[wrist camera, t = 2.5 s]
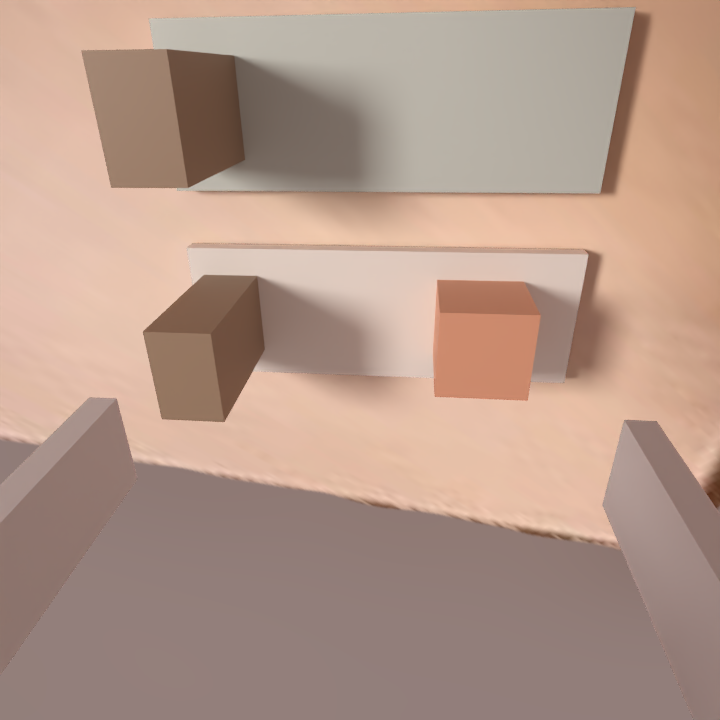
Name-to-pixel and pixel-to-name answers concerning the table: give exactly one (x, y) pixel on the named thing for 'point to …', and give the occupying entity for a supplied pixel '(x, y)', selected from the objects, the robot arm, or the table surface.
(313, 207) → the table surface
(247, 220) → the table surface
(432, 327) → the cube strip
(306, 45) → the strip with upright block
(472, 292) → the cube
